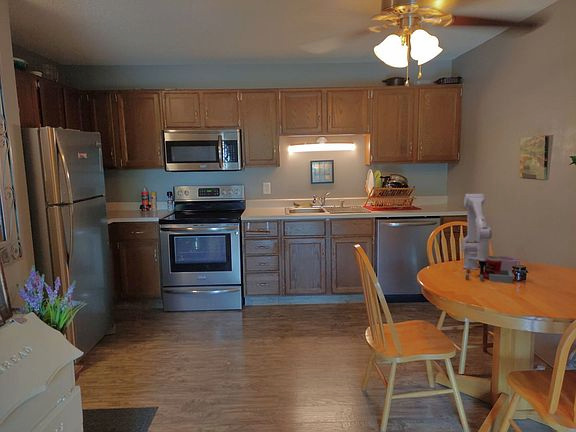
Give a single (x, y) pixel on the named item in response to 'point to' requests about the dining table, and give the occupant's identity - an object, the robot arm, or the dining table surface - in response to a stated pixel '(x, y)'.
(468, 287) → the dining table surface
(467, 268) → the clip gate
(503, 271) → the end cradle
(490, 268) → the canned food
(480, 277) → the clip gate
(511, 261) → the clip
